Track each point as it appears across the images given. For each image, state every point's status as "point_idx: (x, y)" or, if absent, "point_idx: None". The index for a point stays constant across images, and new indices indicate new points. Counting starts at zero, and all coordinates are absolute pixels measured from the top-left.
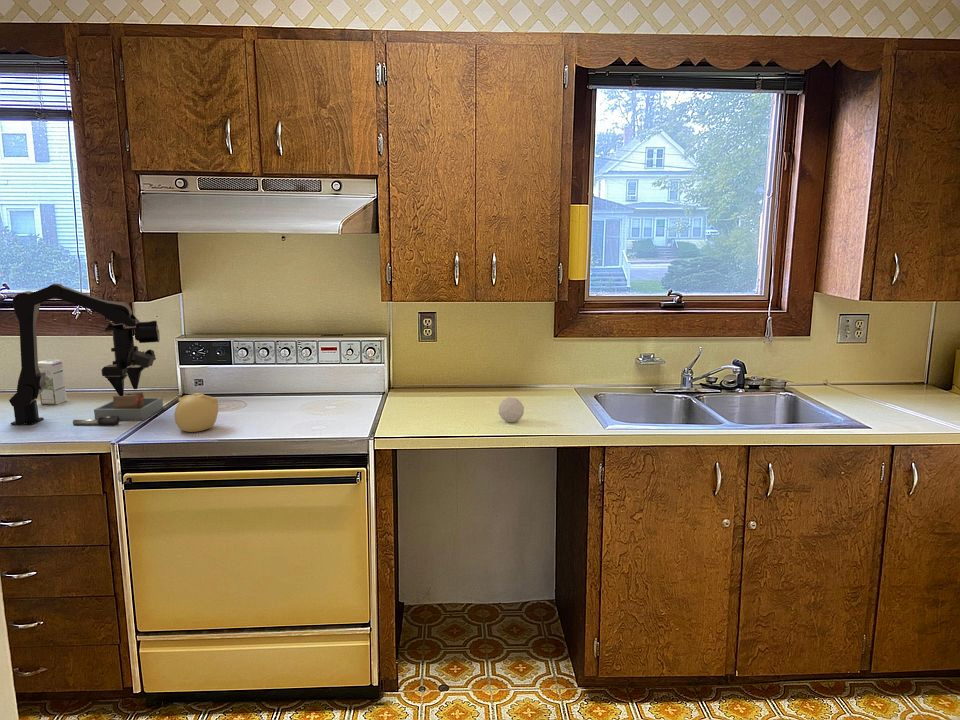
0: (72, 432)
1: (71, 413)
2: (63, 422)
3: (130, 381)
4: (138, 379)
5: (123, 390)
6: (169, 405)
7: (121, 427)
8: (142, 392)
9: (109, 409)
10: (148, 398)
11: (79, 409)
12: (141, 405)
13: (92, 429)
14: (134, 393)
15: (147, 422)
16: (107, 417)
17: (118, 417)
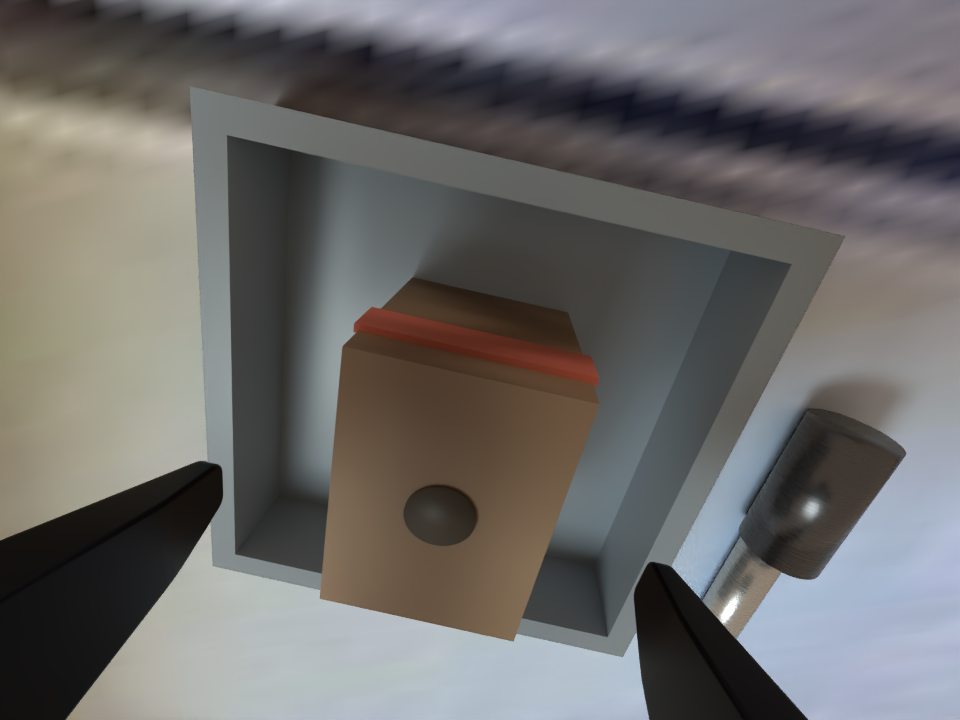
0: (892, 635)
1: (375, 698)
2: (587, 702)
3: (125, 641)
4: (40, 558)
5: (702, 631)
6: (146, 59)
7: (952, 361)
8: (344, 351)
9: (673, 558)
10: (228, 279)
11: (284, 680)
12: (457, 308)
13: (879, 548)
14: (398, 449)
15: (885, 142)
16: (853, 522)
17: (843, 437)
